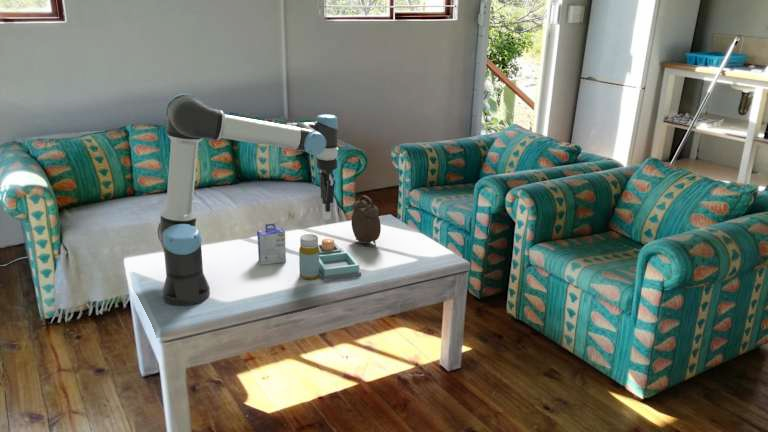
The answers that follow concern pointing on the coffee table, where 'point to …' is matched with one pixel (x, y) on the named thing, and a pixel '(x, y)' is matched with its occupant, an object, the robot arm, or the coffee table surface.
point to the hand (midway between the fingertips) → (326, 218)
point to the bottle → (309, 257)
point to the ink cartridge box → (271, 245)
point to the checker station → (337, 264)
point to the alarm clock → (365, 221)
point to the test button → (327, 244)
